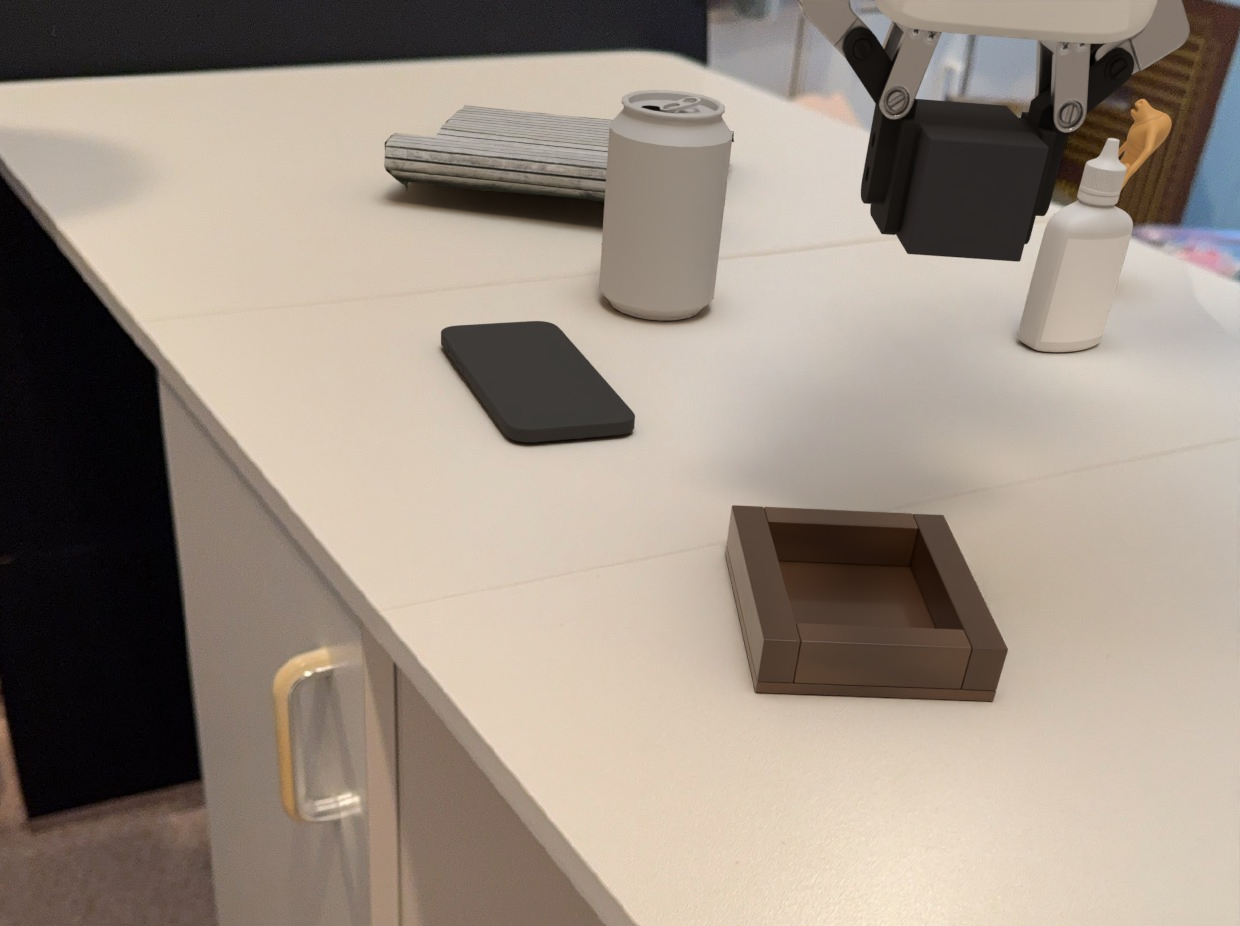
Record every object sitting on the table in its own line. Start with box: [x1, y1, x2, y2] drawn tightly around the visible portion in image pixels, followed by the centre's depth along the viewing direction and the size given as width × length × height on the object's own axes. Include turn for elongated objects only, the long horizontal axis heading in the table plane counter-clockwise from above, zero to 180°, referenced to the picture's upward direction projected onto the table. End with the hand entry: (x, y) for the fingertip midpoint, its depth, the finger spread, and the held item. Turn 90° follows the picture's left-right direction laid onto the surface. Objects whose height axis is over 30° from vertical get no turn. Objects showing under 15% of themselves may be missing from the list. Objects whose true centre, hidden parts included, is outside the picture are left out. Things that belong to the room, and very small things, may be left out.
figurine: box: [1118, 98, 1173, 191], centre depth 99 cm, size 8×6×12 cm
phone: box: [440, 320, 636, 443], centre depth 82 cm, size 7×1×15 cm
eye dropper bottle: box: [1017, 137, 1134, 353], centre depth 89 cm, size 4×6×12 cm
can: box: [598, 89, 733, 322], centre depth 90 cm, size 8×8×12 cm
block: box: [895, 98, 1049, 263], centre depth 56 cm, size 6×4×4 cm
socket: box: [724, 504, 1009, 702], centre depth 63 cm, size 10×12×2 cm
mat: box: [383, 104, 735, 203], centre depth 112 cm, size 23×24×5 cm
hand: (948, 224), depth 57 cm, fingers closed on block, 4 cm apart
